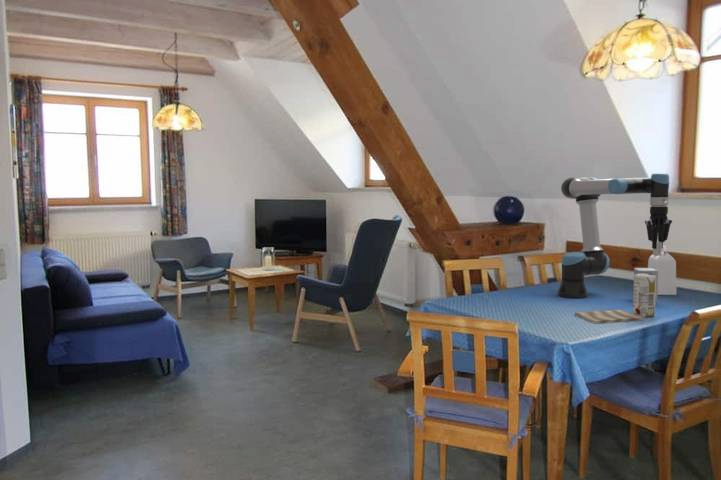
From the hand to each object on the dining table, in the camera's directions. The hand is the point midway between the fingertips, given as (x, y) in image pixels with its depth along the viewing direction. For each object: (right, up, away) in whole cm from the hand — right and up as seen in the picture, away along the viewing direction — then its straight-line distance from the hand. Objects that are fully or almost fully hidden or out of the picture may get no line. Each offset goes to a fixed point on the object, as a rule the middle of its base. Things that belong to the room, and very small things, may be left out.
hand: (657, 255), depth 266 cm
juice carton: (-10, -28, -8) cm, 31 cm away
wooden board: (-28, -28, -11) cm, 41 cm away
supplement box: (+5, -25, +21) cm, 32 cm away
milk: (+24, -22, +42) cm, 53 cm away
